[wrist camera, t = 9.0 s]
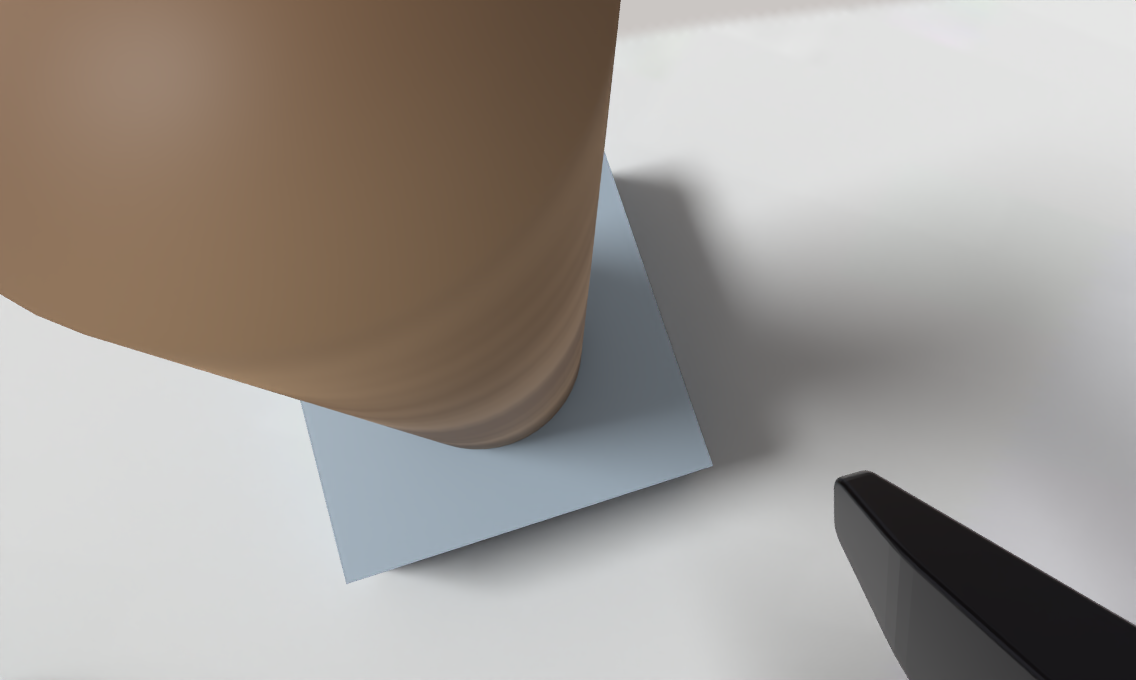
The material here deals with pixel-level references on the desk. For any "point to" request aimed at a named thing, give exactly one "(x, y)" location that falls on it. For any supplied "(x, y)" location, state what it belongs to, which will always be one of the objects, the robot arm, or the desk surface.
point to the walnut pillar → (316, 194)
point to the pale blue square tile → (536, 463)
